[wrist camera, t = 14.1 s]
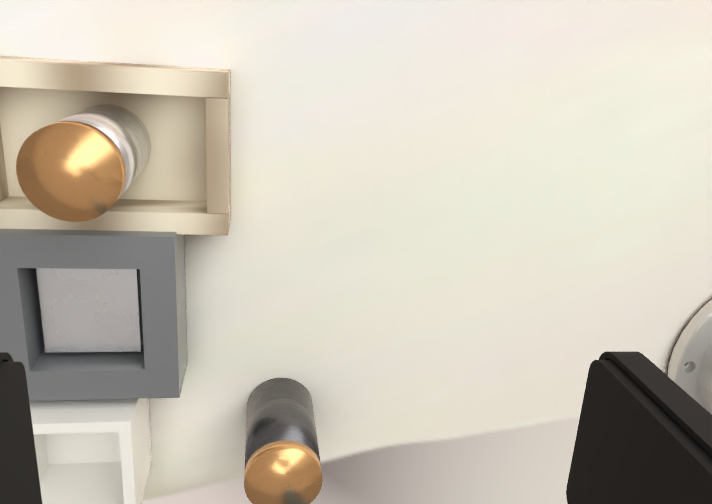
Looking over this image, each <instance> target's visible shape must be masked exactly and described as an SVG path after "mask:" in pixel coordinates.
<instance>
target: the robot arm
mask: <svg viewBox="0 0 712 504" xmlns="http://www.w3.org/2000/svg"><path fill="white" fill-rule="evenodd" d="M566 495H567V502H568V504H712V300H710V301H709V302H708V303H706V304H705V305H704V306H703V307H702V308H701V309H700V311H699V312H698V313H697V314H696V315H695V316H694V317H693V318H692V319H691V321H690V322H689V323H688V325H687V326H686V328H685V329H684V330H683V332H682V333H681V335H680V337H679V339H678V341H677V343H676V345H675V347H674V349H673V353H672V356H671V359H670V362H669V368H668V376H667V375H666V374H665V373H663V372H662V371H661V370H660V369H659V368H658V367H657V366H655V365H654V364H653V363H652V362H651V361H650V360H649V359H647V358H646V357H645V356H644V355H643V354H641V353H639V352H604V353H603V354H602V355H601V356H600V358H599V360H594V361H593V362H592V363H591V365H590V368H589V373H588V378H587V383H586V389H585V394H584V399H583V404H582V410H581V415H580V420H579V426H578V431H577V436H576V441H575V447H574V452H573V457H572V463H571V468H570V473H569V478H568V483H567V491H566ZM0 504H42V496H41V489H40V481H39V473H38V465H37V457H36V450H35V442H34V434H33V426H32V418H31V411H30V403H29V395H28V387H27V379H26V372H25V367H24V365H23V363H21V362H14V361H13V358H12V356H11V355H10V354H9V353H8V352H0Z"/></svg>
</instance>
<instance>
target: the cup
mask: <svg viewBox="0 0 712 504" xmlns="http://www.w3.org/2000/svg"><path fill="white" fill-rule="evenodd" d="M29 403H30V411H31V418H32V426H33V434H34V442H35V450H36V457H37V465H38V473H39V481H40V489H41V496H42V504H141V503H142V500H143V496H144V492H145V488H146V484H147V480H148V476H149V472H150V468H151V464H152V454H151V434H150V414H149V398H133V399H88V400H42V401H29Z"/></svg>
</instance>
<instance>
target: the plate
mask: <svg viewBox="0 0 712 504" xmlns="http://www.w3.org/2000/svg"><path fill="white" fill-rule="evenodd" d="M36 272H37V282H38V291H39V300H40V309H41V318H42V327H43V336H44V345H45V353H47V352H141V350H142V347H143V325H142V306H141V287H140V269H63V268H36Z"/></svg>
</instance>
